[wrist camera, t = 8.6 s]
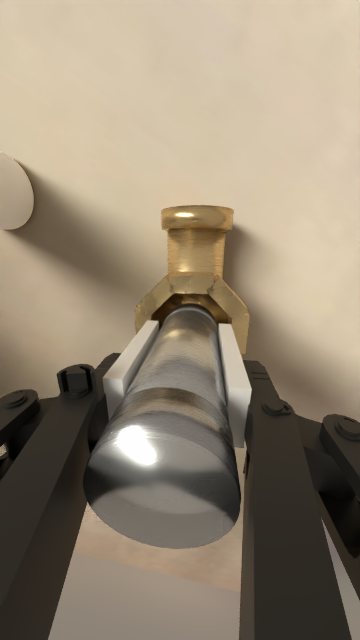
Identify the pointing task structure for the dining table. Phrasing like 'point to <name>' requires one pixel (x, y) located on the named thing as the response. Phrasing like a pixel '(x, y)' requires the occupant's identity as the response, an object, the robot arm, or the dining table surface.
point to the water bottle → (14, 194)
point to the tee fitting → (196, 270)
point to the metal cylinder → (170, 443)
